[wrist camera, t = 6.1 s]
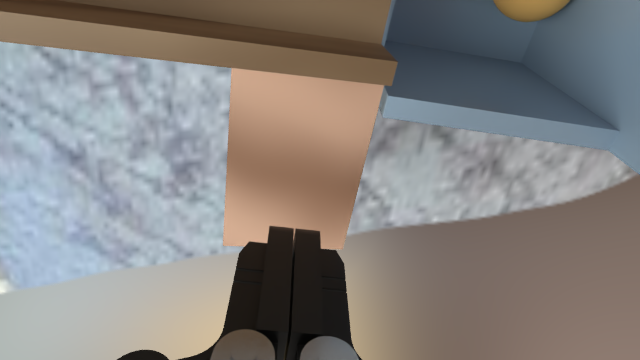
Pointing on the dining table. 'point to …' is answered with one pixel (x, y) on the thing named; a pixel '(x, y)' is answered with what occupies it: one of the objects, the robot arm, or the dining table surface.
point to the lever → (254, 90)
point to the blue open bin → (519, 71)
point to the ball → (529, 9)
